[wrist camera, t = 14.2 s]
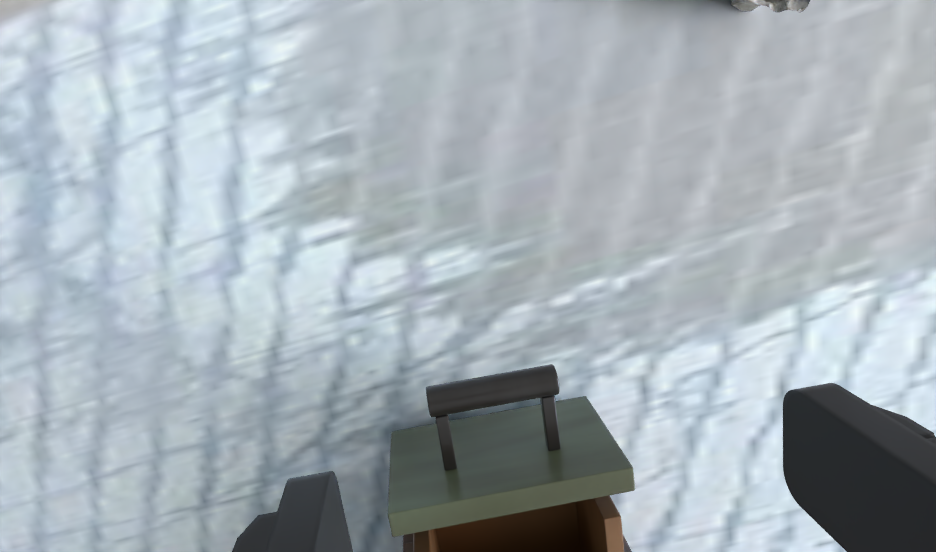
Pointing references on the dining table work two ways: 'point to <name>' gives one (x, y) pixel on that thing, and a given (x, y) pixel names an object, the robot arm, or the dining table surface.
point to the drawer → (508, 471)
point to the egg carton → (771, 4)
